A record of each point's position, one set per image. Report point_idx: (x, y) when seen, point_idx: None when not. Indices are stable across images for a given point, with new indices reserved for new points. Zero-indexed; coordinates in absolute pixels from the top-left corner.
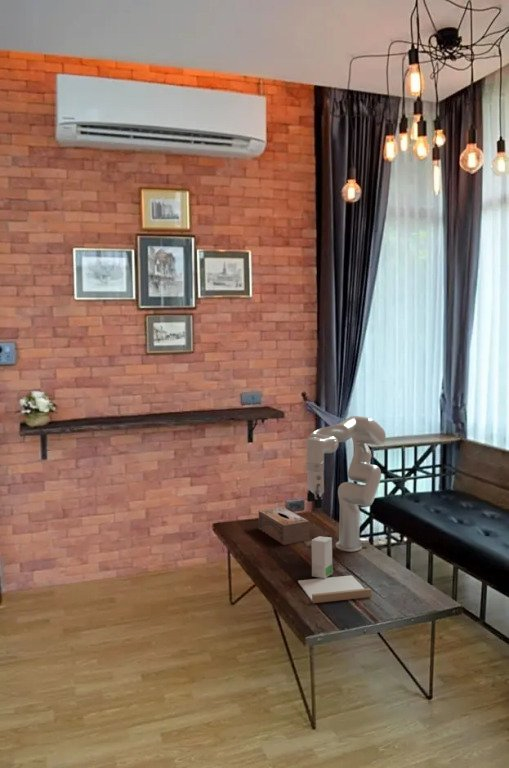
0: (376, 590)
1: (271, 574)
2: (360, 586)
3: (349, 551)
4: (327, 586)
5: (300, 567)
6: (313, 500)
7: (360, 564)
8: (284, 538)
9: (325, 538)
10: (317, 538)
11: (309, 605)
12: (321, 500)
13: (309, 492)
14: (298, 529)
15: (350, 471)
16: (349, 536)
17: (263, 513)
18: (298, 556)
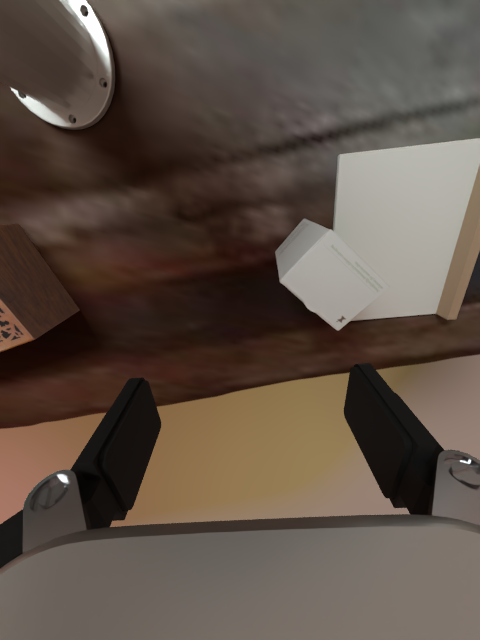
0: (465, 94)
1: (271, 366)
2: (427, 151)
3: (114, 78)
4: (385, 259)
5: (241, 297)
6: (146, 390)
7: (243, 73)
8: (66, 316)
9: (338, 267)
10: (324, 301)
11: (446, 321)
12: (416, 426)
13: (112, 511)
14: (10, 274)
15: None
16: (60, 36)
17: None
18: (165, 287)
